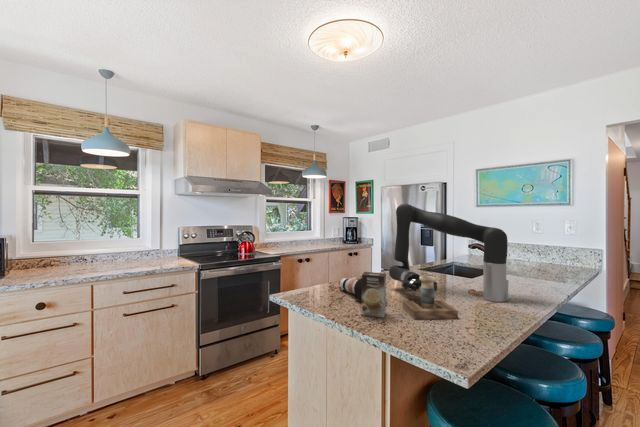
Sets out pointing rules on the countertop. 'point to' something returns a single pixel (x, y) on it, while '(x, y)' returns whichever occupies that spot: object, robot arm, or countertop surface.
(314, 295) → the countertop surface
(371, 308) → the coffee box
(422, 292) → the cord spool
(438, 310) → the notched board
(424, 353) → the countertop surface
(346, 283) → the black white tapered cylinder
